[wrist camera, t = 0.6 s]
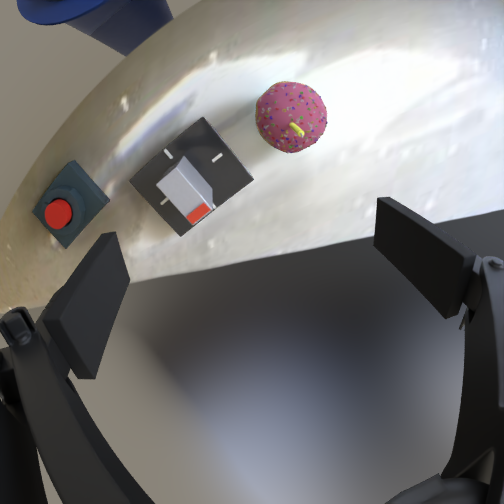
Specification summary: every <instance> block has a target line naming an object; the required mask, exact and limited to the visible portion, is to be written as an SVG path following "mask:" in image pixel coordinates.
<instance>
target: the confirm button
mask: <svg viewBox="0 0 504 504" xmlns="http://www.w3.org/2000/svg"><path fill="white" fill-rule="evenodd" d="M71 216H72V210H71V207H70V205H69V204H68V203H67V202H66V201H65V200H63V199H57V200H55V201H53V202H52V203H51V204H49V205H48V206H47V208H46V210H45V218H46V221H47V223H48V224H49V225H50V226H51V227H52V228H54V229H61V228H62V227H64V226H65V225H66V224H67V223H68V222H69V221H70V219H71Z"/></svg>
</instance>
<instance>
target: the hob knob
mask: <svg viewBox="0 0 504 504" xmlns="http://www.w3.org/2000/svg"><path fill="white" fill-rule="evenodd" d="M156 186H157V187H158V188H159V189H160V190H161V191H162V192H163V193H164V195H165V196H166V197H167V198H168V199H169V200H170V201H171V202H172V203H173V205H174V206H175V207H176V208H177V209H178V210H179V211H180V212H181V213H182V214H183V215H184V217H185V218H186V219H187V220H188V221H189V222H190V223H191V224H192V225H195V224H196V223H197V222H198V221H199V220H201V219H202V218H203V217H205V216H206V215H207V214H208V213H210V212H211V211H212V210H213V189H212V188H211V187H210V185H209V184H208V183H207V182H206V181H205V180H204V178H203V177H202V176H201V175H200V174H199V173H198V171H197V170H196V169H195V168H194V167H193V166H192V164H191V163H190V162H189V161H188V160H187V159H186V157H185V156H183V157H182V158H180V159H179V160H178V161H177V162H176V163H175V164H173V165H172V166H171V167H170V168H169V169H168V170H167V171H166V172H165V174H164V175H163V176H162V178H161V179H160V180H159V182H158V183H157V184H156Z"/></svg>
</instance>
